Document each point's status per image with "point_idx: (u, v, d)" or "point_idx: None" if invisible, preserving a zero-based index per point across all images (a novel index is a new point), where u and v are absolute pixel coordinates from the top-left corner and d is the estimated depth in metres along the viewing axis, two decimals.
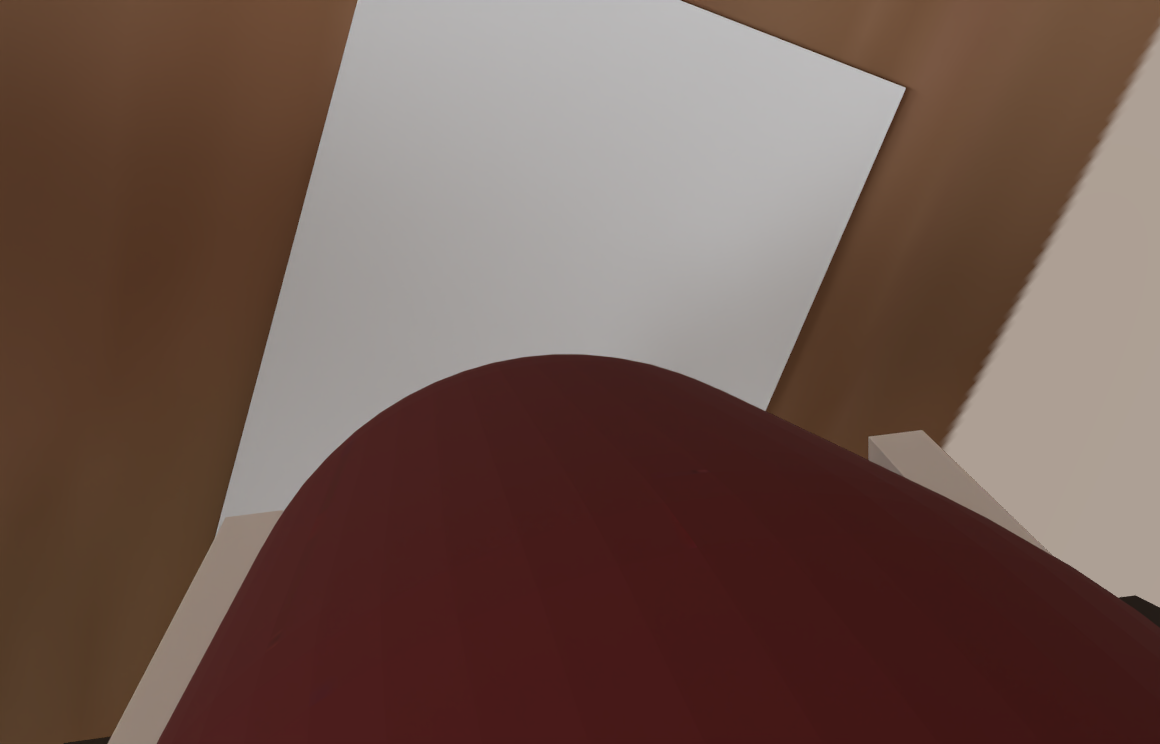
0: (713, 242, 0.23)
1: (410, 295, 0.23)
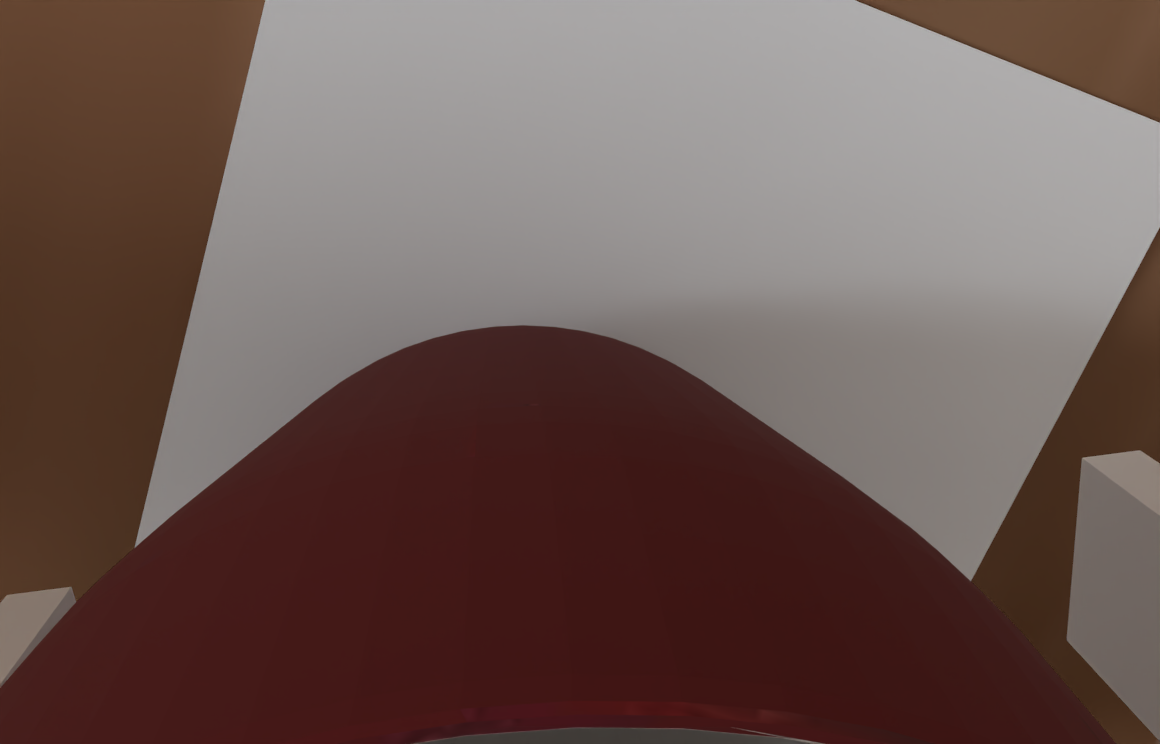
0: (869, 393, 0.14)
1: None
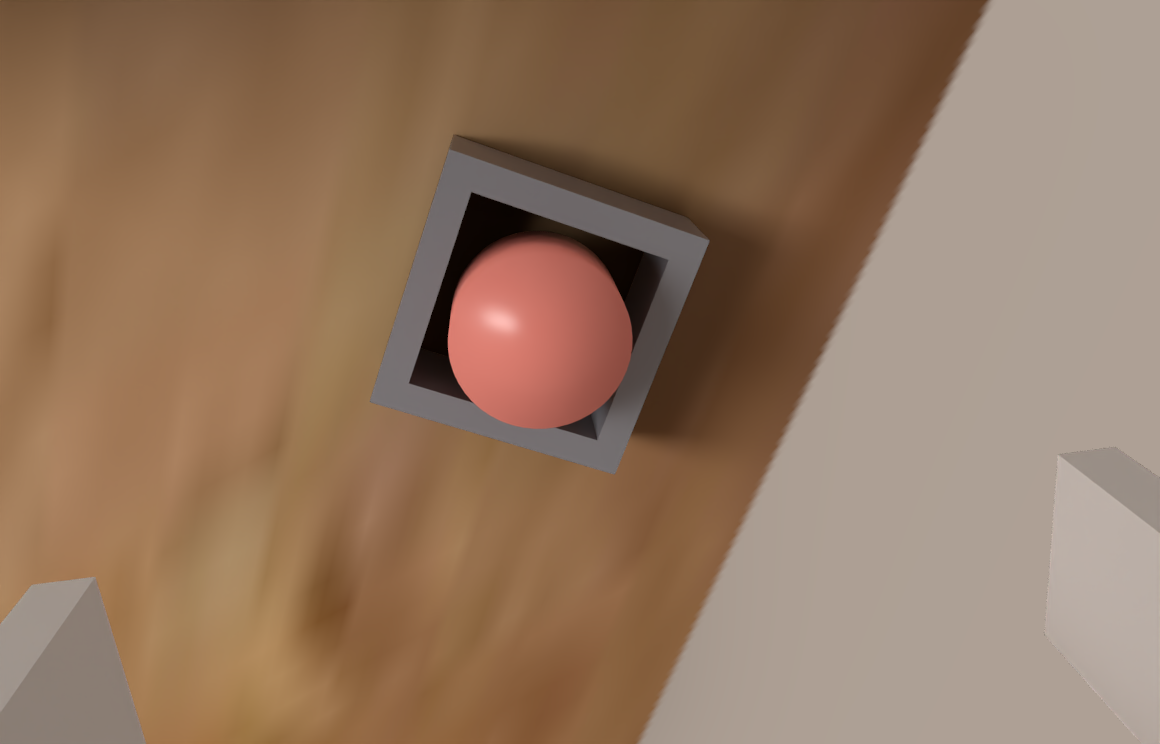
0: None
1: None
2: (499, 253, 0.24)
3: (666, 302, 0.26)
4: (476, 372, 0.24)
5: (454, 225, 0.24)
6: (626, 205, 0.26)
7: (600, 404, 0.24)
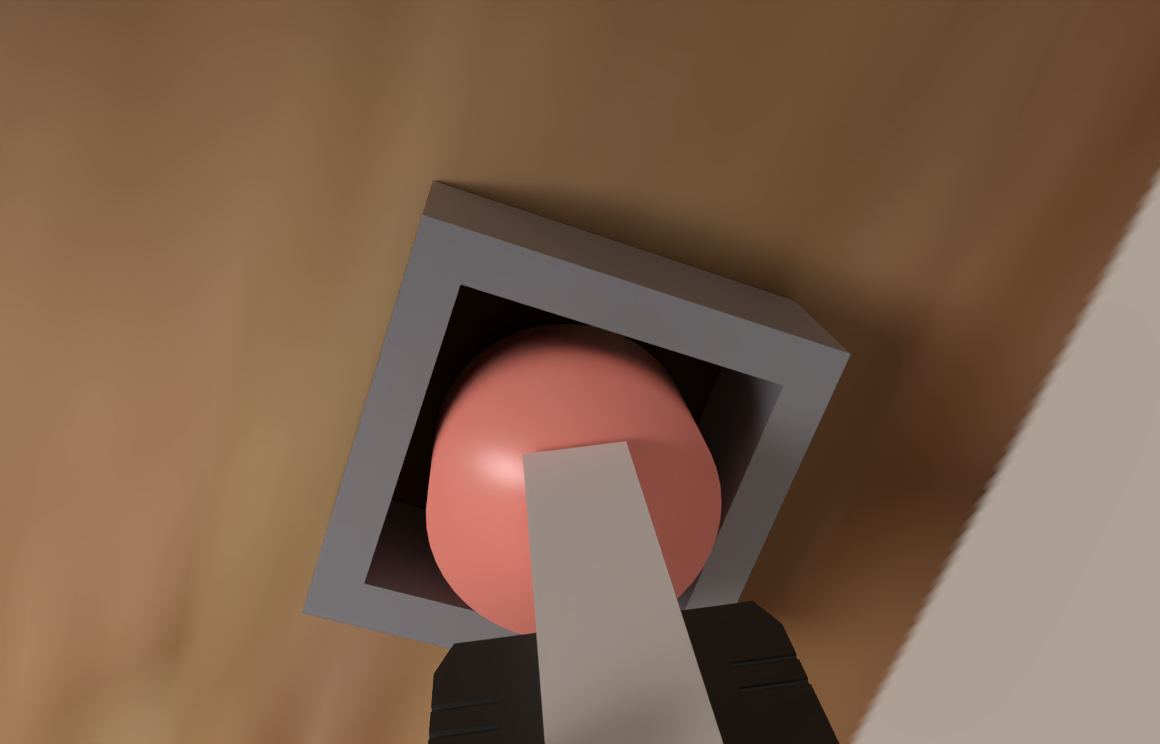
0: None
1: None
2: (507, 370, 0.15)
3: (777, 451, 0.16)
4: (473, 559, 0.15)
5: (433, 338, 0.15)
6: (711, 294, 0.16)
7: None
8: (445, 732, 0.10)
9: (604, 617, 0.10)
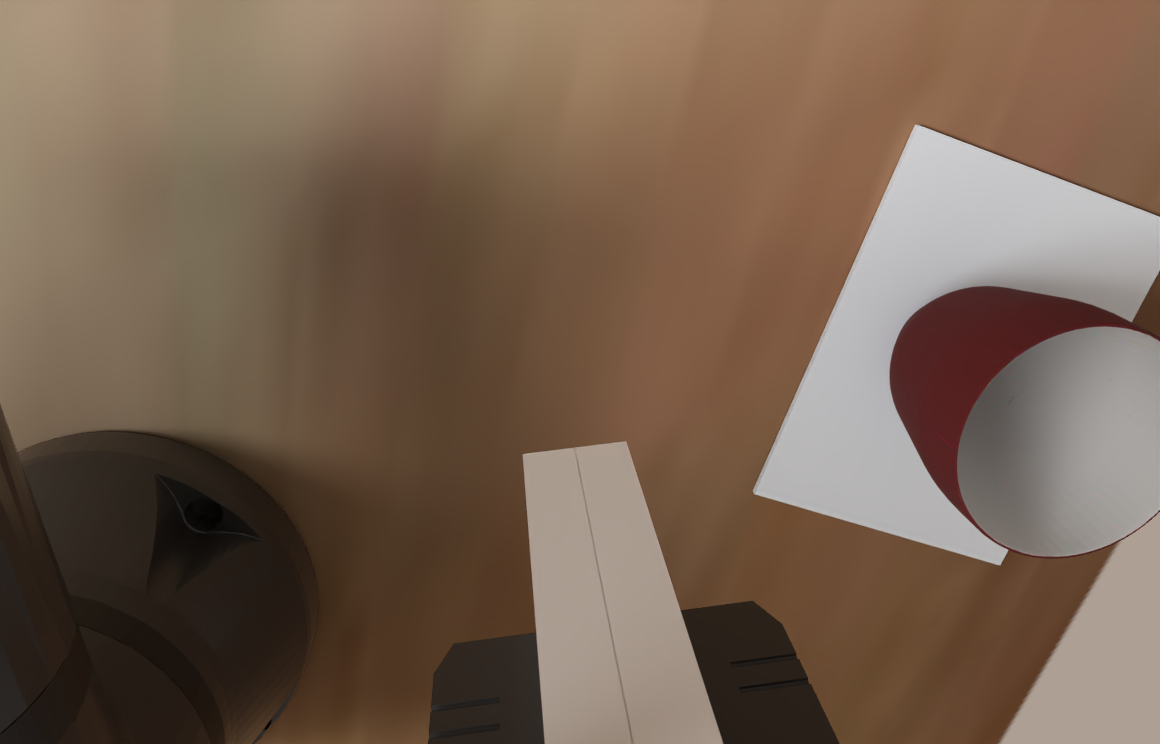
0: None
1: (893, 343, 0.40)
2: None
3: None
4: None
5: None
6: None
7: None
8: (445, 732, 0.10)
9: (604, 617, 0.10)
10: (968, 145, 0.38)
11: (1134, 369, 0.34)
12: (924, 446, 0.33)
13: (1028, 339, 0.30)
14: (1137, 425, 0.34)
